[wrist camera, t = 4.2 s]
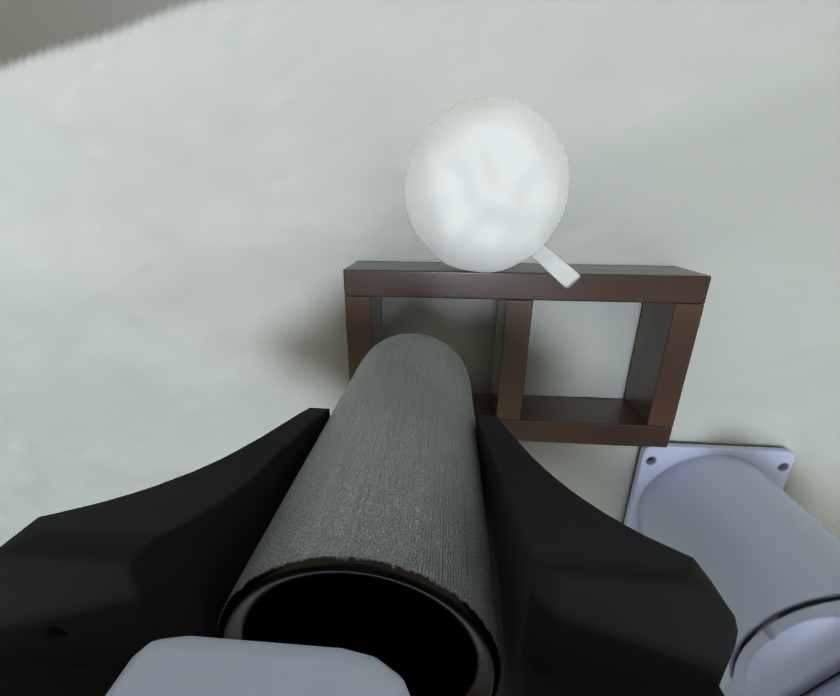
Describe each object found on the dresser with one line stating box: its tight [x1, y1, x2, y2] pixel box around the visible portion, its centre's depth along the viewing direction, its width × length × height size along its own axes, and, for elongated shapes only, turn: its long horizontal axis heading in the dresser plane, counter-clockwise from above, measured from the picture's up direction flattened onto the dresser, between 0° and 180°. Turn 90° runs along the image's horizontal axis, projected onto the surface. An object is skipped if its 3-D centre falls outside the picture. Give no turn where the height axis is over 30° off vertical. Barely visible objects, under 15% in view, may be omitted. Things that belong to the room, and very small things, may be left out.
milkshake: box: [405, 96, 581, 288], centre depth 14 cm, size 4×5×10 cm
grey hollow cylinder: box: [217, 333, 502, 696], centre depth 11 cm, size 4×4×10 cm
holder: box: [343, 261, 711, 448], centre depth 20 cm, size 8×16×3 cm, turn 90°
